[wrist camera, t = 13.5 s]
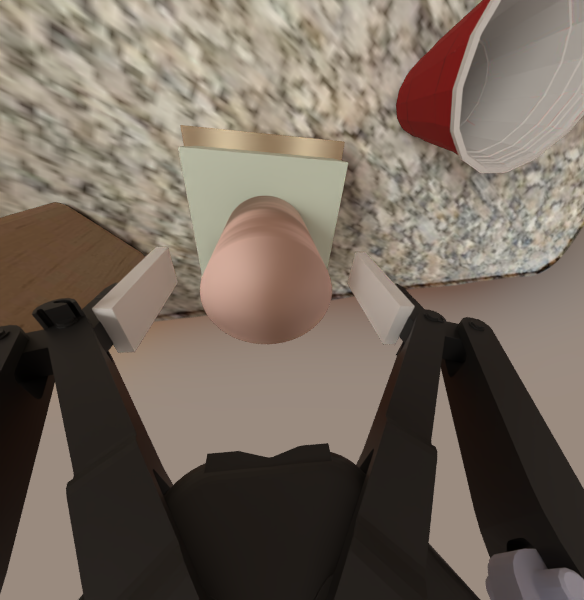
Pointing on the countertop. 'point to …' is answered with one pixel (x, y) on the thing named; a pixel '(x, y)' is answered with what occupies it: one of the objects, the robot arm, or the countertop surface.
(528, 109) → the plastic cup
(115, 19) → the countertop surface
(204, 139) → the tower base
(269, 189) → the tower top
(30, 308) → the block
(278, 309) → the pink rounded cylinder
